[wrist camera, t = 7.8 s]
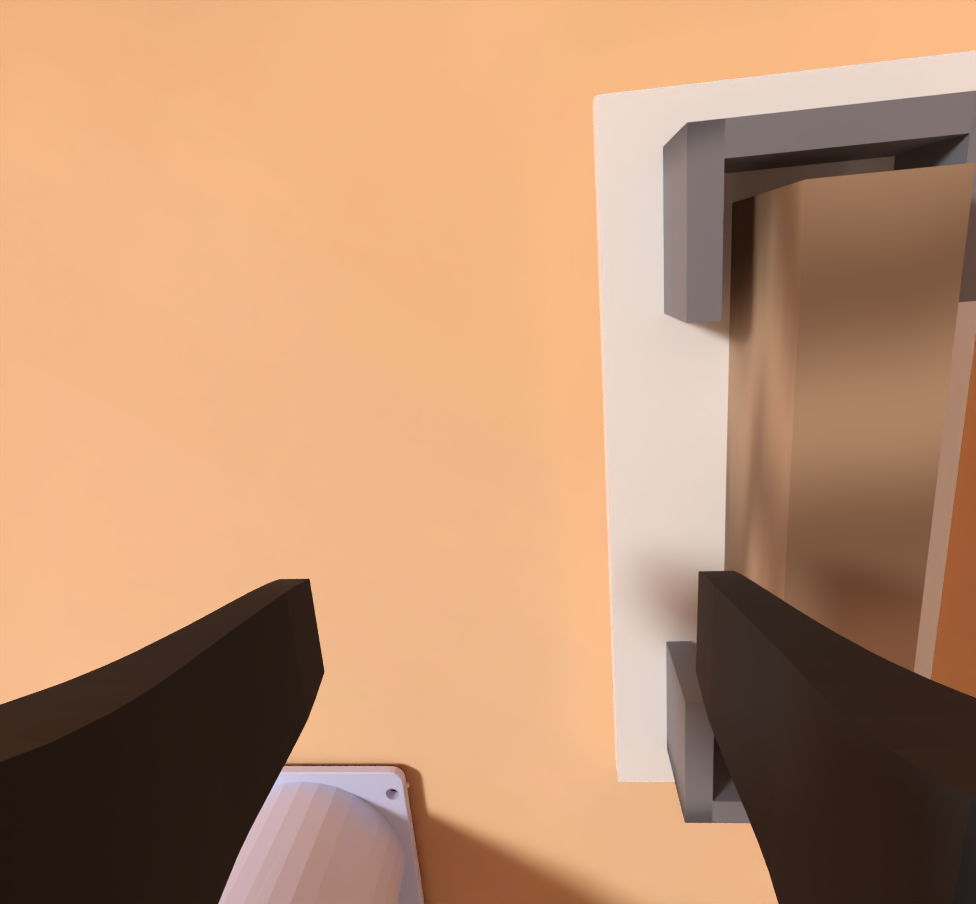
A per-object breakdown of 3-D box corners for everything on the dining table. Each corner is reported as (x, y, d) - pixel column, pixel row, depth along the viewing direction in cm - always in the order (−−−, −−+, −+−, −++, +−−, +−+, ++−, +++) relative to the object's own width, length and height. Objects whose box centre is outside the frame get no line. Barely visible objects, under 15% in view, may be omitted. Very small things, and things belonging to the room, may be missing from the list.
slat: (814, 707, 21) (893, 839, 16) (720, 708, 21) (771, 838, 16) (851, 192, 16) (975, 162, 12) (732, 203, 17) (806, 179, 12)
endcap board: (901, 760, 22) (974, 862, 18) (615, 760, 23) (628, 857, 20) (986, 58, 16) (1121, -5, 12) (592, 104, 17) (605, 59, 13)
